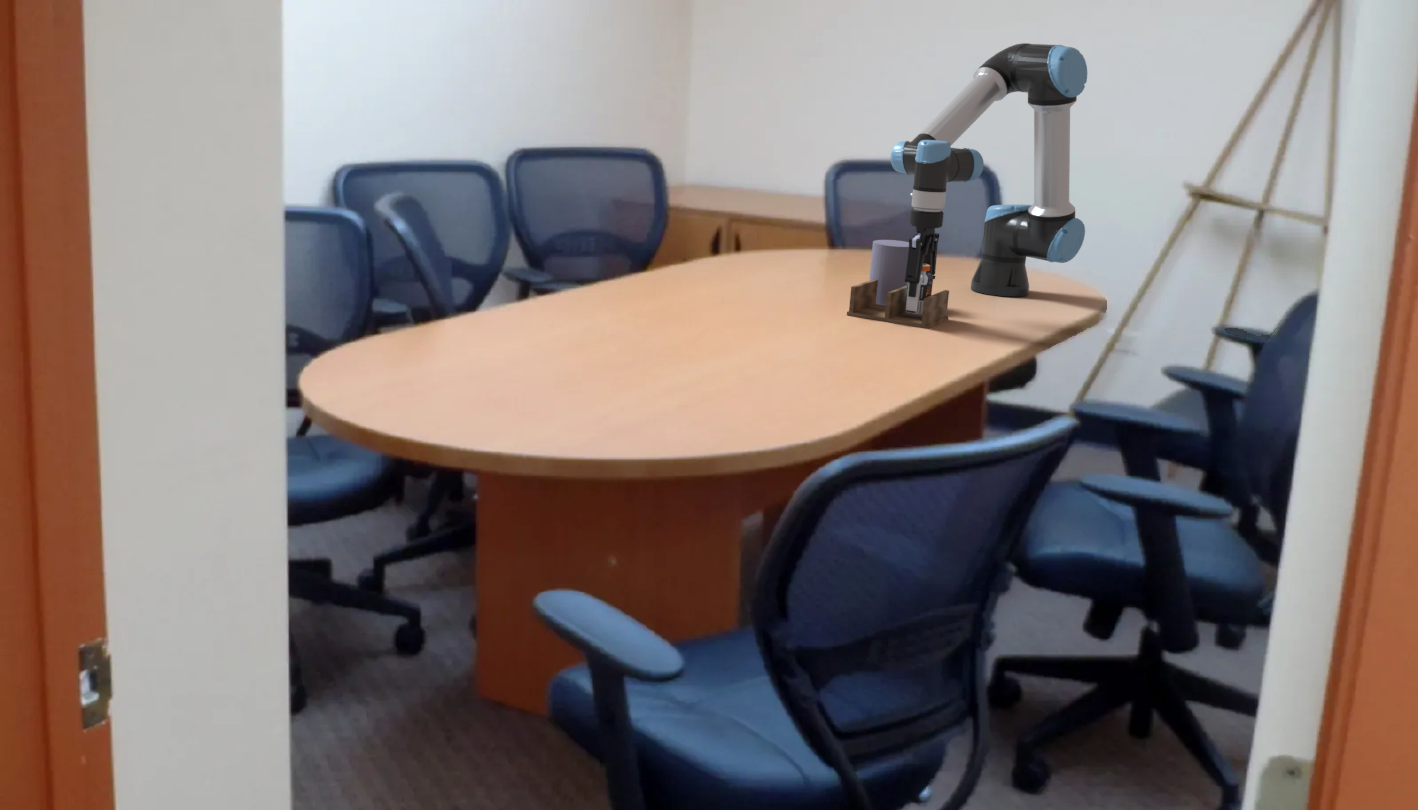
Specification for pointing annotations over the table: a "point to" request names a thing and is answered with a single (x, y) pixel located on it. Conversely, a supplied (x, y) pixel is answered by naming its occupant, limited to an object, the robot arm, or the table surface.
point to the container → (888, 266)
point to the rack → (896, 306)
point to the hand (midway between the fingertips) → (917, 308)
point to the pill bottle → (922, 288)
